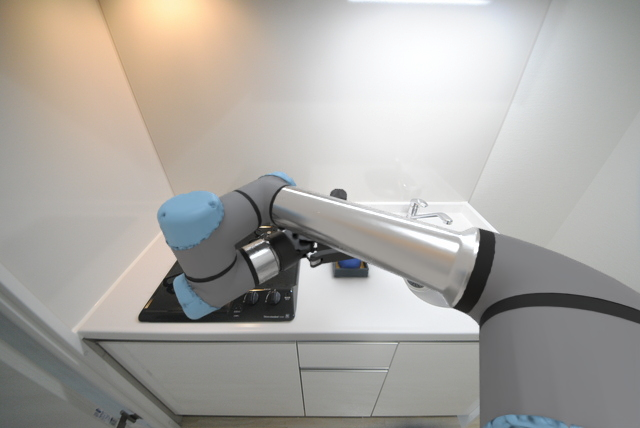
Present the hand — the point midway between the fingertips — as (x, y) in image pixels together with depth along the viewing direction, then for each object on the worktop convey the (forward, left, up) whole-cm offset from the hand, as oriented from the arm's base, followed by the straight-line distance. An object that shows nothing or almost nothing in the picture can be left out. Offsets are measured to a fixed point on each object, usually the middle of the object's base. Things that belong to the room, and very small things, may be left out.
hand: (348, 216), depth 51 cm
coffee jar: (+37, +14, -33) cm, 52 cm away
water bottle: (+15, +2, -32) cm, 36 cm away
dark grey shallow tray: (+20, +4, -33) cm, 39 cm away
